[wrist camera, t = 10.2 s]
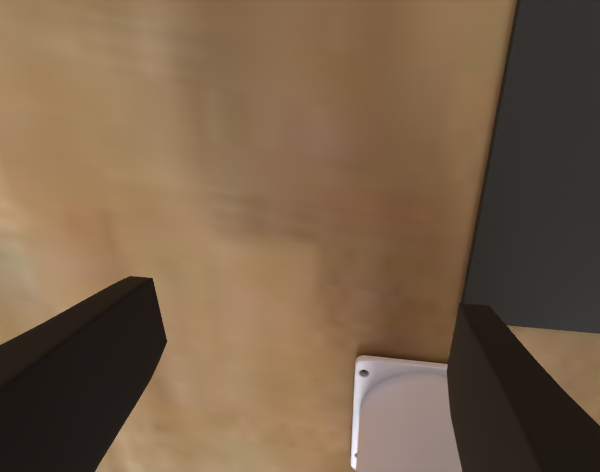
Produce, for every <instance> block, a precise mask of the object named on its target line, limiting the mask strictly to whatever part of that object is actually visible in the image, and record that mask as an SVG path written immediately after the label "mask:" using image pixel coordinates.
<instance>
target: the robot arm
mask: <svg viewBox="0 0 600 472" xmlns="http://www.w3.org/2000/svg"><path fill="white" fill-rule="evenodd" d="M166 343H167V339H166V335H165V331H164V326H163V322H162V317H161V313H160V309H159V304H158V300H157V295H156V291H155V287H154V282H153V278H145V277H133V276H129V277H127V278H125V279H123V280H121V281H119V282H117V283H115V284H113V285H111V286H109V287H107V288H105V289H103V290H102V291H100V292H98V293H96V294H94V295H93V296H91V297H89V298H87V299H85V300H84V301H82V302H80V303H78V304H76V305H75V306H73V307H71V308H69V309H68V310H66V311H64V312H62V313H60V314H59V315H57V316H55V317H53V318H51V319H50V320H48V321H46V322H44V323H42V324H40V325H38V326H36V327H35V328H33V329H31V330H29V331H27V332H25V333H23V334H21V335H19V336H17V337H15V338H13V339H11V340H9V341H8V342H6V343H4V344H2V345H0V472H95V470H96V469H97V467H98V465H99V463H100V462H101V460H102V458H103V457H104V455H105V454H106V452H107V450H108V449H109V447H110V445H111V444H112V442H113V441H114V439H115V437H116V436H117V434H118V432H119V431H120V429H121V428H122V426H123V424H124V423H125V421H126V419H127V418H128V416H129V415H130V413H131V411H132V410H133V408H134V406H135V405H136V403H137V401H138V400H139V398H140V396H141V395H142V393H143V391H144V390H145V388H146V386H147V385H148V383H149V381H150V380H151V378H152V375H153V373H154V371H155V369H156V367H157V365H158V362H159V360H160V358H161V355H162V353H163V351H164V348H165V346H166ZM361 370H366V371H367V372H363V371H361ZM351 466H352V468H354V469H356V472H600V426H599V425H598V424H597V423H596V422H595V421H594V420H593V419H592V418H591V417H590V416H589V415H588V414H587V413H586V412H585V411H584V410H583V409H582V408H581V407H580V406H579V405H578V404H577V403H576V402H575V401H574V400H573V399H572V398H571V397H570V396H569V395H568V394H567V393H566V392H565V391H564V390H563V389H562V388H561V387H560V386H559V385H558V384H557V383H556V381H555V380H554V379H553V378H552V377H551V376H550V375H549V374H548V373H547V372H546V371H545V369H544V368H543V367H542V366H541V365H540V364H539V363H538V362H537V361H536V360H535V358H534V357H533V356H532V355H531V354H530V353H529V352H528V350H527V349H526V348H525V347H524V346H523V345H522V344H521V342H520V341H519V340H518V339H517V338H516V336H515V335H514V334H513V333H512V332H511V331H510V329H509V328H508V327H507V326H506V325H505V323H504V322H503V321H502V320H501V319H500V318H499V316H498V315H497V314H496V313H495V312H494V311H493V309H492V308H491V307H490V306H489V305H478V304H466V303H459V308H458V313H457V319H456V324H455V329H454V335H453V340H452V345H451V351H450V356H449V361H448V364H442V363H433V362H423V361H414V360H405V359H395V358H386V357H376V356H367V355H361V356H359V357H358V358H356V362H355V380H354V401H353V422H352V443H351Z"/></svg>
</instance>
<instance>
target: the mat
mask: <svg viewBox="0 0 600 472" xmlns="http://www.w3.org/2000/svg"><path fill="white" fill-rule="evenodd" d="M461 303H466V304H478V305H489V306H490V307H491V308H492V309H493V311H494V312H495V313H496V314H497V315H498V316H499V318H500V319H501V320H502V321H503V322H504V323H505V325H511V326H522V327H533V328H544V329H555V330H566V331H578V332H589V333H600V0H518V1H517V6H516V12H515V17H514V22H513V28H512V33H511V38H510V44H509V49H508V55H507V60H506V65H505V71H504V76H503V82H502V87H501V92H500V98H499V103H498V108H497V114H496V119H495V125H494V130H493V135H492V141H491V146H490V151H489V157H488V162H487V168H486V173H485V178H484V184H483V189H482V195H481V200H480V205H479V211H478V216H477V221H476V227H475V232H474V238H473V243H472V248H471V254H470V259H469V265H468V270H467V275H466V281H465V286H464V291H463V297H462V302H461Z"/></svg>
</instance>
